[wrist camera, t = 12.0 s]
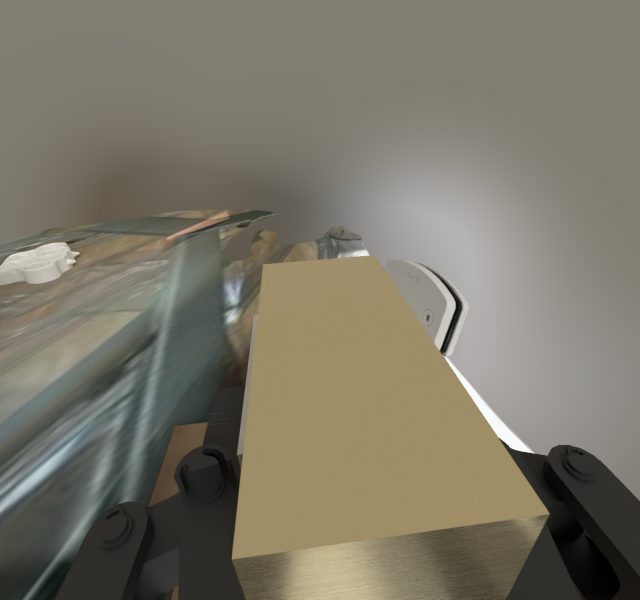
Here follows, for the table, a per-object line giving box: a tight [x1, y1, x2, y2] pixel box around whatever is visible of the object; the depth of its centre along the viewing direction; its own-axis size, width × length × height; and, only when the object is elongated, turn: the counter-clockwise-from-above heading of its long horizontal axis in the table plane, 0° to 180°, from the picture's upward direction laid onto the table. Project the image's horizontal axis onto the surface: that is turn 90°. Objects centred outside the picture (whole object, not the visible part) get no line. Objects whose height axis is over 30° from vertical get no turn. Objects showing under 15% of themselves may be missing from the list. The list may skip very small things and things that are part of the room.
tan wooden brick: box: [232, 255, 550, 600], centre depth 10 cm, size 4×9×10 cm, turn 6°
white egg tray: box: [0, 243, 80, 285], centre depth 74 cm, size 3×18×15 cm
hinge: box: [384, 260, 469, 356], centre depth 48 cm, size 17×5×10 cm, turn 19°
